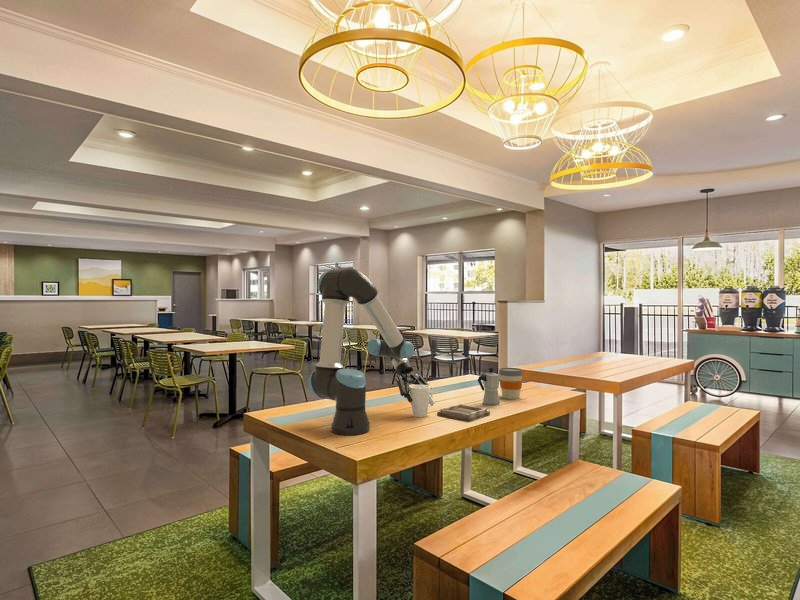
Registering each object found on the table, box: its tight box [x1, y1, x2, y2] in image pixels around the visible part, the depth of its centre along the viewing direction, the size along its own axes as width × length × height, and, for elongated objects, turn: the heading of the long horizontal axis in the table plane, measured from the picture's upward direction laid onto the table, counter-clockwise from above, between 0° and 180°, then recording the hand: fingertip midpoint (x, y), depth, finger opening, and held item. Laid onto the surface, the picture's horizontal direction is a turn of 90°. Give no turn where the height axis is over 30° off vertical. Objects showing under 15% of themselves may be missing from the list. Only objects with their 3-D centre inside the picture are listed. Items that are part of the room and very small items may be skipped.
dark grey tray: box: [436, 403, 491, 423], centre depth 206 cm, size 17×17×3 cm
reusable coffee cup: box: [498, 367, 524, 400], centre depth 246 cm, size 13×13×15 cm
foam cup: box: [409, 384, 432, 418], centre depth 205 cm, size 10×9×13 cm
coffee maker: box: [477, 367, 500, 406], centre depth 230 cm, size 15×9×18 cm, turn 121°
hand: (424, 405), depth 202 cm, fingers closed on foam cup, 9 cm apart
